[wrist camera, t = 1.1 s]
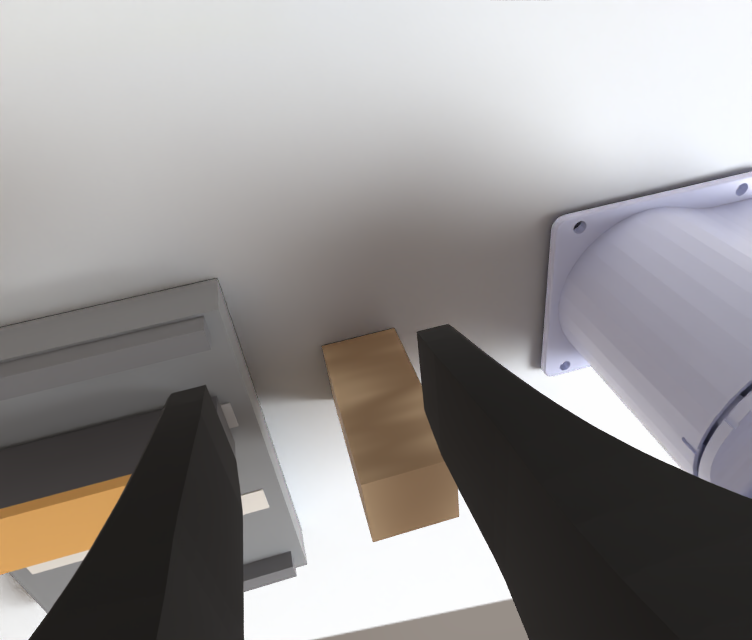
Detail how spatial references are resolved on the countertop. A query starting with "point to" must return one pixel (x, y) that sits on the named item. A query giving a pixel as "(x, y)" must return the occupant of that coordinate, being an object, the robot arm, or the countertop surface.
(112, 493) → the breaker toggle
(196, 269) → the countertop surface
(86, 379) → the box
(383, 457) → the oak post
